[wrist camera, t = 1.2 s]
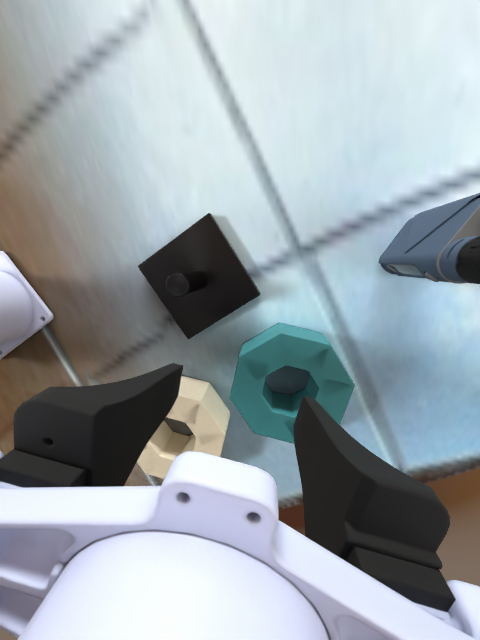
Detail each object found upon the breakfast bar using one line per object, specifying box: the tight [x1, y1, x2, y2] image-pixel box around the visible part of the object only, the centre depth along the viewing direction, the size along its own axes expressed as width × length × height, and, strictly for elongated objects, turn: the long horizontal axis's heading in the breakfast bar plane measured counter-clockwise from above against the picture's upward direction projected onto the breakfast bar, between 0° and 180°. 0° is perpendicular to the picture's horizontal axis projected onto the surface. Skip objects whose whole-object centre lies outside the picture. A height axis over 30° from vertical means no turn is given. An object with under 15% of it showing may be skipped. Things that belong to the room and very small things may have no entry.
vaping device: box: [379, 193, 480, 284], centre depth 13 cm, size 3×5×12 cm, turn 148°
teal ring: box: [230, 323, 355, 443], centre depth 21 cm, size 10×10×3 cm
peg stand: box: [138, 213, 260, 339], centre depth 19 cm, size 8×8×6 cm
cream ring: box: [137, 376, 231, 479], centre depth 24 cm, size 10×10×3 cm
